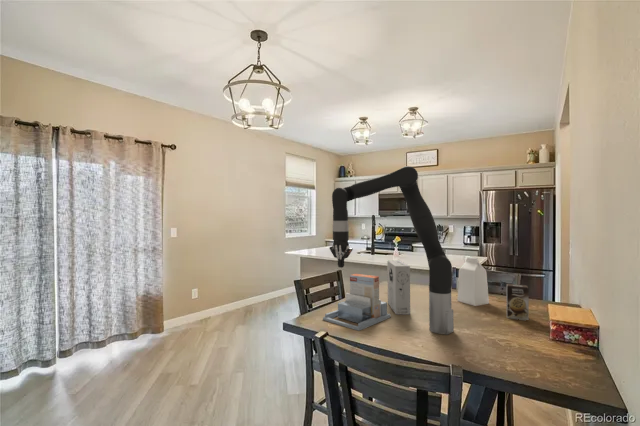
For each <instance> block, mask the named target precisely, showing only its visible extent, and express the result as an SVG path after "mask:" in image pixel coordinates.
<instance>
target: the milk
mask: <svg viewBox="0 0 640 426" xmlns="http://www.w3.org/2000/svg"><path fill="white" fill-rule="evenodd" d="M487 274H488V273H487V270H486V268H485V267H483V265H482V264H481V263H480V261H479V259H478V257H477V258H476V257H471V256H467V258H466V260H465V261H464V263H463V264H462V265H461V266H460V268H459V269H458V277H457V278H458V281H457V283H458V284H457V299H456V301H457V302H460V303H463V304H466V305H470V306H474V307H477V306H483V305H489V303H490V301H489V289H488V285H489V284H488V275H487Z"/></svg>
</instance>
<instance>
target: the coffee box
mask: <svg viewBox="0 0 640 426" xmlns="http://www.w3.org/2000/svg"><path fill="white" fill-rule="evenodd" d="M529 294H530V293H529V286H528V285H525V284H516V283H506V319H511V320H518V319H519V321H526V320H529V317H530V316H529V314H530V313H529V307H530V306H529ZM529 321H530V320H529Z"/></svg>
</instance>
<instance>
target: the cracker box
mask: <svg viewBox="0 0 640 426" xmlns="http://www.w3.org/2000/svg"><path fill="white" fill-rule="evenodd" d="M349 293H350V294H355V295H360V296H364V297H369V298H371V318H378V317H379V299H380V276H379V275H369V274H362V273H351V274H350V275H349Z"/></svg>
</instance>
